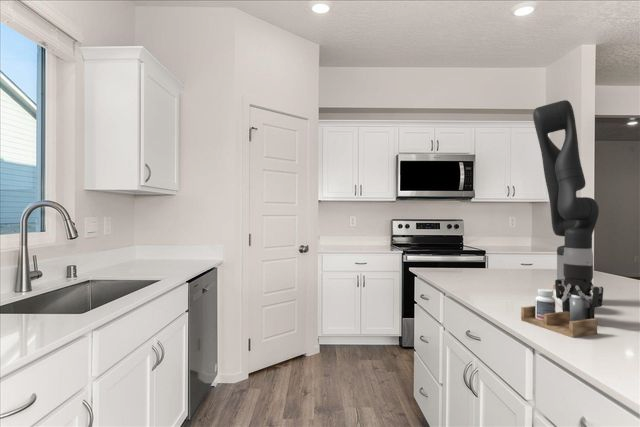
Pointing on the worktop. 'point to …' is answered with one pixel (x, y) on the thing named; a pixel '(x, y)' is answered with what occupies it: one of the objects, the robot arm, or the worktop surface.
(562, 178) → the robot arm
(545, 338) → the worktop surface
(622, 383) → the worktop surface
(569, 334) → the rack
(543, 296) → the pill bottle
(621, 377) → the worktop surface
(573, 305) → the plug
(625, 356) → the worktop surface
